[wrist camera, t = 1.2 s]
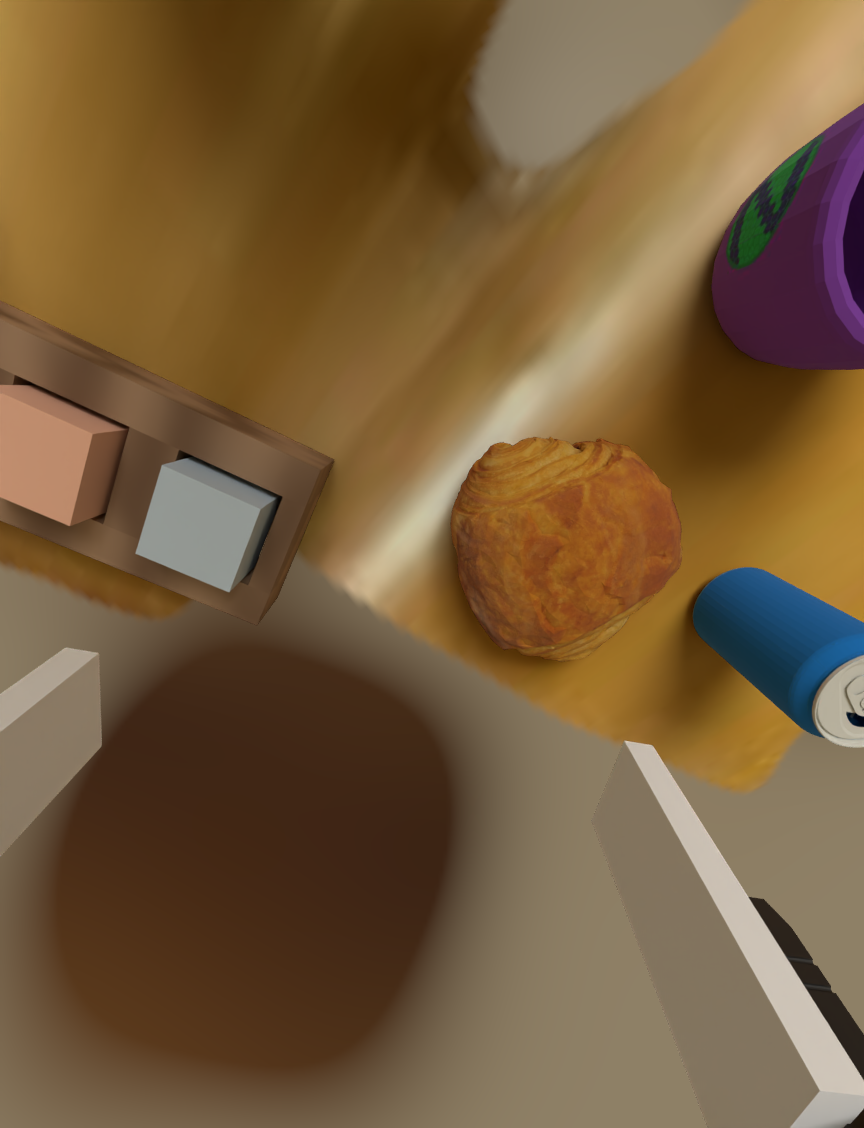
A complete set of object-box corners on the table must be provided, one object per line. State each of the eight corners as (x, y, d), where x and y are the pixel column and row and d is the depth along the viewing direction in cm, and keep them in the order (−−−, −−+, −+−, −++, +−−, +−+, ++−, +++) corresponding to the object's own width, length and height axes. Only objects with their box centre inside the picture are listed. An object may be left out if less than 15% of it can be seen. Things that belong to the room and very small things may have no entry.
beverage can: (707, 658, 37) (829, 773, 26) (673, 593, 36) (787, 687, 24) (788, 615, 36) (952, 717, 25) (757, 546, 34) (919, 622, 23)
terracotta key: (30, 470, 30) (-35, 483, 26) (48, 385, 28) (-18, 384, 24) (118, 508, 31) (69, 526, 26) (140, 428, 29) (92, 433, 25)
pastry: (479, 637, 39) (492, 709, 32) (428, 453, 32) (429, 493, 25) (661, 595, 38) (716, 661, 31) (648, 392, 31) (716, 417, 24)
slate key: (174, 531, 31) (135, 553, 27) (199, 454, 29) (161, 465, 25) (255, 566, 32) (229, 592, 28) (283, 493, 30) (260, 509, 26)
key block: (-121, 430, 31) (-207, 435, 27) (-101, 252, 28) (-196, 227, 24) (277, 597, 35) (257, 625, 31) (334, 460, 32) (320, 470, 28)
